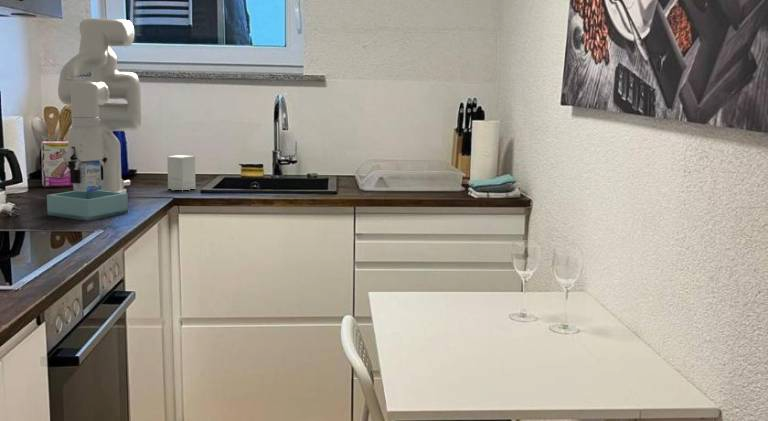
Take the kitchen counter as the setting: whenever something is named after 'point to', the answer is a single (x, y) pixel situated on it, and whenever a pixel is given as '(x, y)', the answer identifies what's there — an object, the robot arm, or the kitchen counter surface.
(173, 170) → the supplement box
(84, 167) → the medicine box
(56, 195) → the collection bin
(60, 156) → the candy bar box
